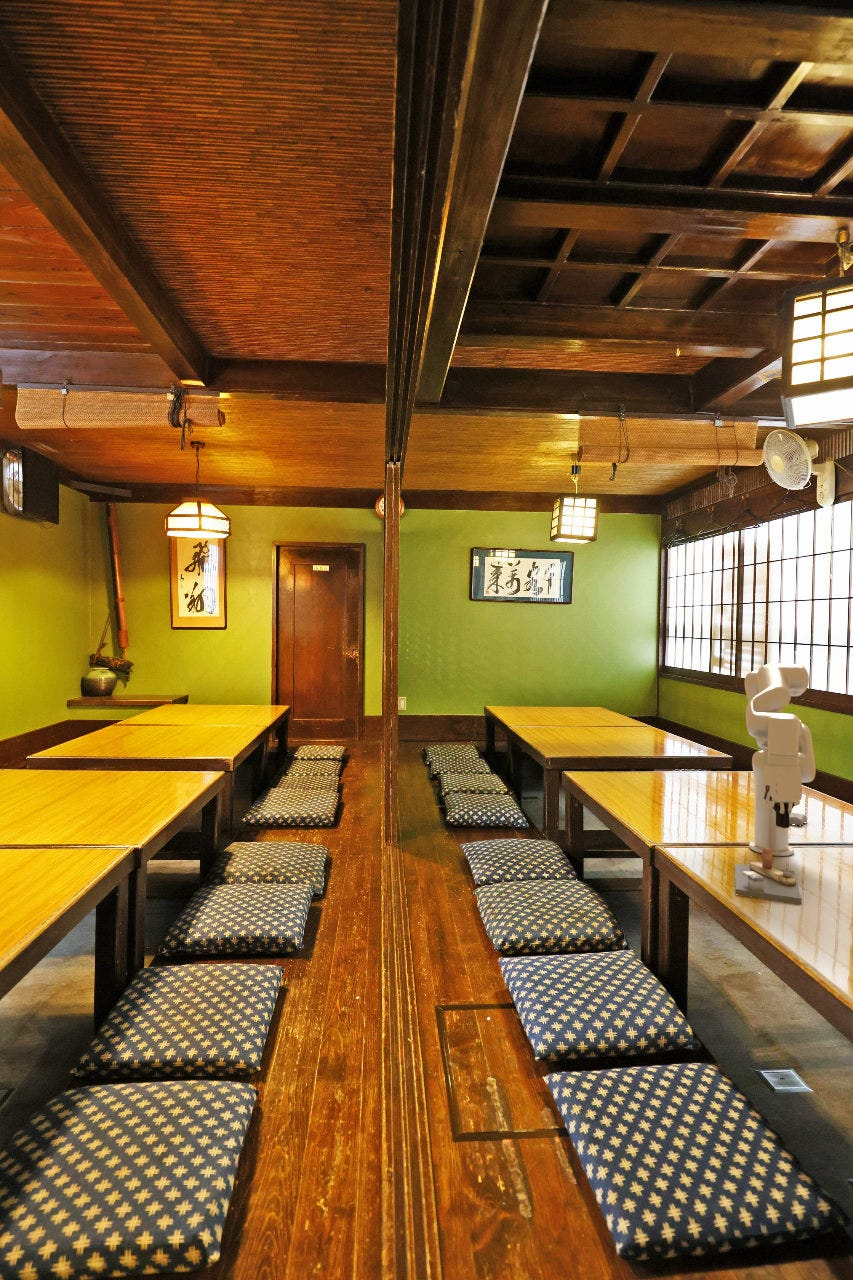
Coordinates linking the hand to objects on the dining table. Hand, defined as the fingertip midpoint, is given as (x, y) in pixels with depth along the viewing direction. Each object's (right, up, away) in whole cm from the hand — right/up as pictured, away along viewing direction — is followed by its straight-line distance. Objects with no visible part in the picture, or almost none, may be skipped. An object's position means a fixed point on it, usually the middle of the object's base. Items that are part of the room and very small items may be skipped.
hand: (782, 826), depth 188 cm
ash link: (-4, -13, -3) cm, 14 cm away
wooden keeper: (-13, -13, -10) cm, 21 cm away
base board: (-7, -15, -5) cm, 17 cm away
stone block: (+33, -15, +60) cm, 70 cm away
